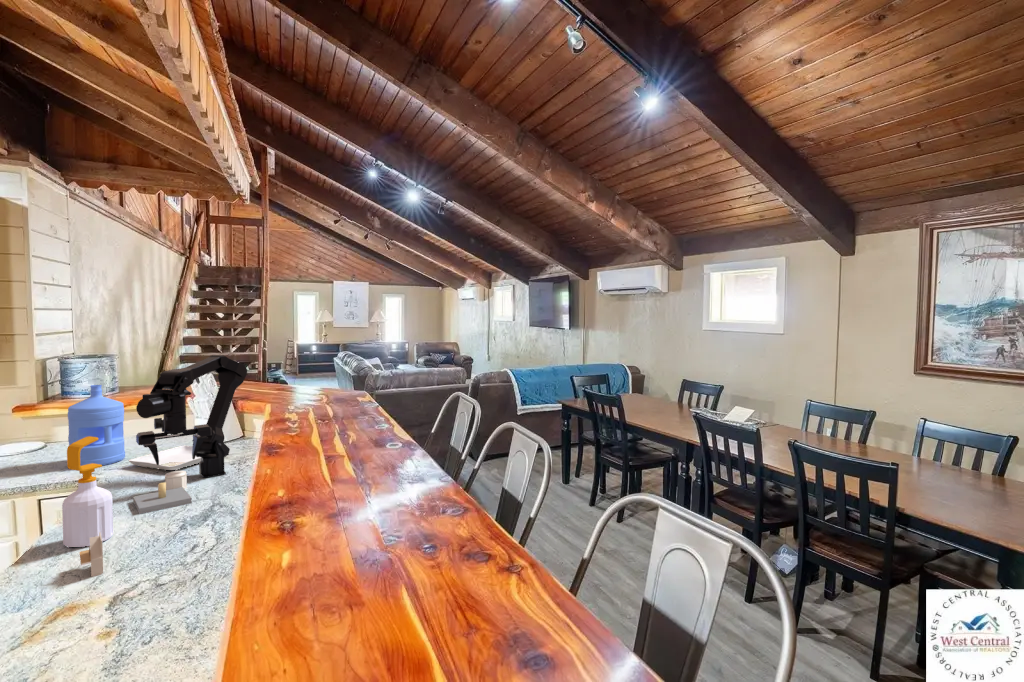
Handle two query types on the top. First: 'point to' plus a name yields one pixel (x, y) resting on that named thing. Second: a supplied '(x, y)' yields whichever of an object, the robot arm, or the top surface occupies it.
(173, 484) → the cap
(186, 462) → the salad plate
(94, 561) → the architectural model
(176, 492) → the post base
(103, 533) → the soap bottle
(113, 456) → the water jug
